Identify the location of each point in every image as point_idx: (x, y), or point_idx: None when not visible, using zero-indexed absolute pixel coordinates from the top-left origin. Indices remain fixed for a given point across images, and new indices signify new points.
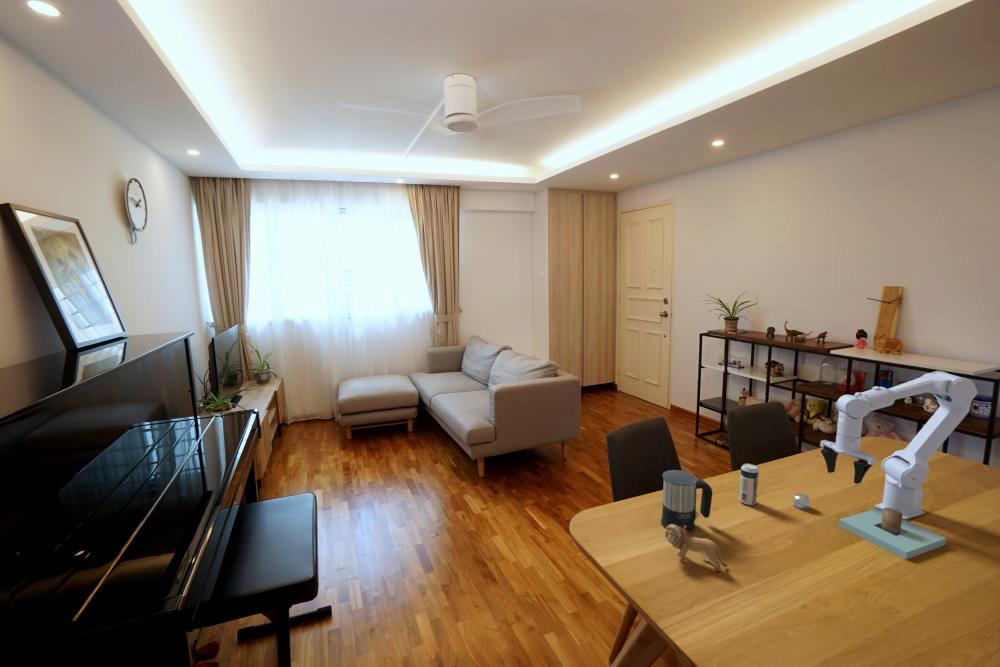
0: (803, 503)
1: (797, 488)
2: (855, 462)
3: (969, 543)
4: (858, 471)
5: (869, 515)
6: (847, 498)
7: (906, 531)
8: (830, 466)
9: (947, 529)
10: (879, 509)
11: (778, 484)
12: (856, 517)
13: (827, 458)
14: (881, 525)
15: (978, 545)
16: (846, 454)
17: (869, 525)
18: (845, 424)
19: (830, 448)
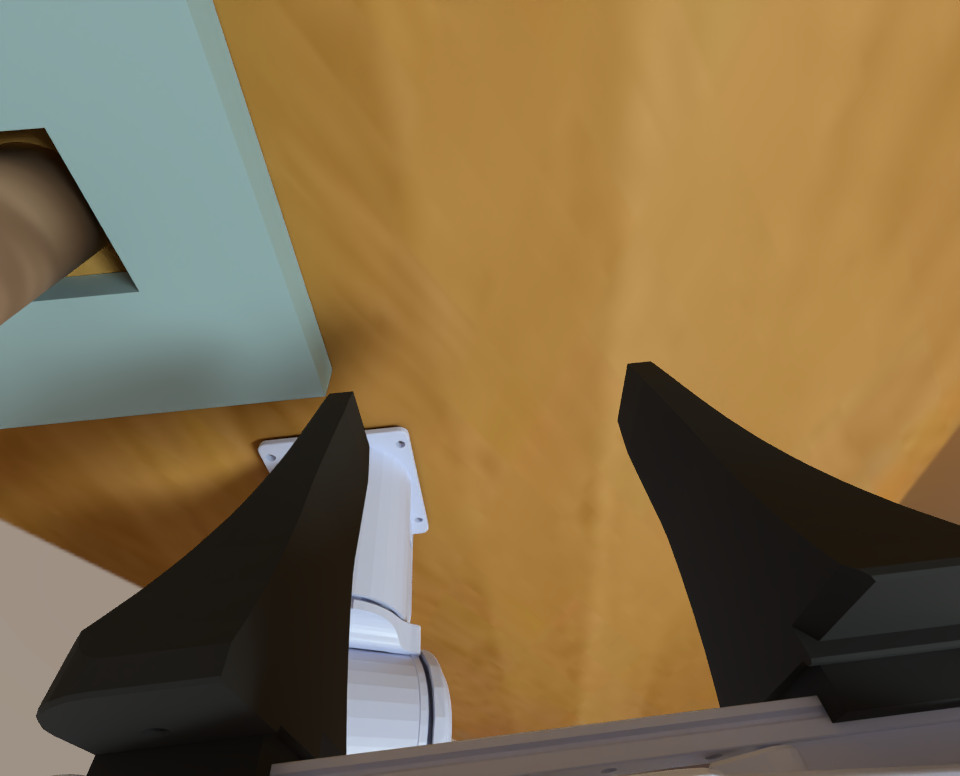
0: None
1: (773, 192)
2: (175, 681)
3: (47, 496)
4: (235, 523)
5: (226, 258)
6: (523, 379)
7: None
8: (662, 423)
9: (175, 514)
10: (308, 391)
11: (917, 88)
12: (185, 108)
13: (764, 483)
14: (27, 181)
15: (35, 510)
16: (542, 746)
17: (25, 77)
18: None
19: (871, 716)
